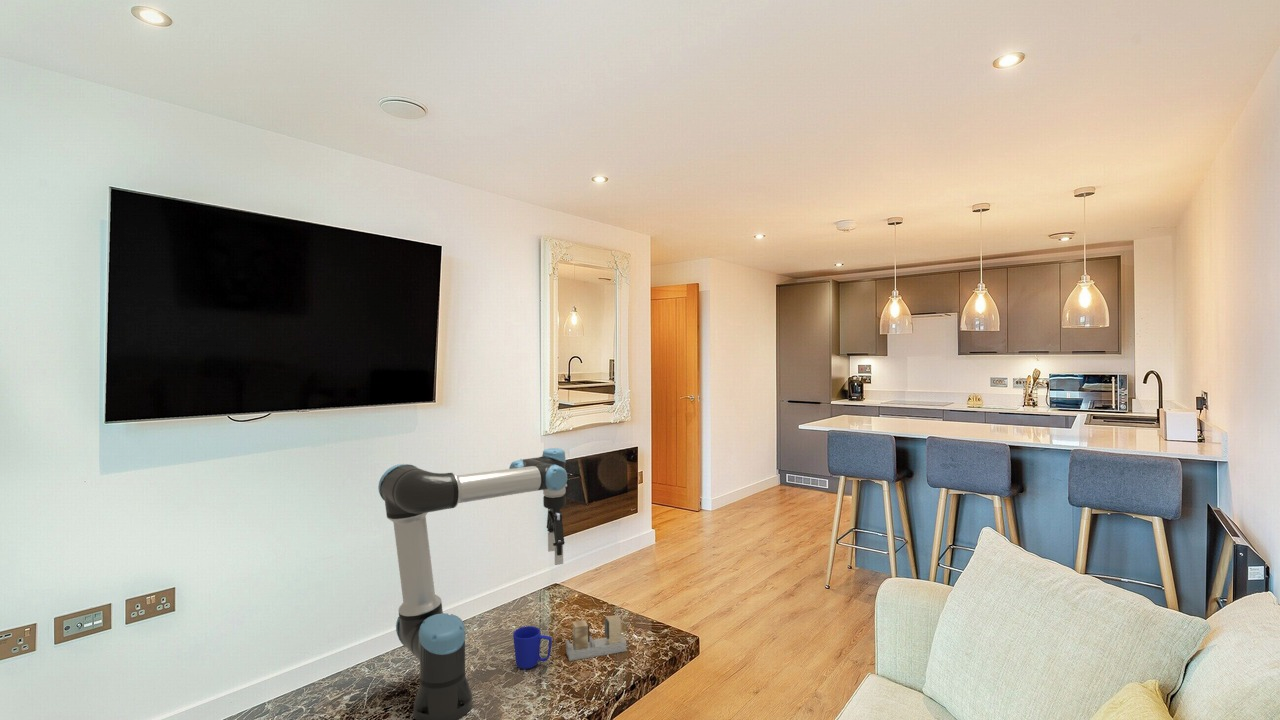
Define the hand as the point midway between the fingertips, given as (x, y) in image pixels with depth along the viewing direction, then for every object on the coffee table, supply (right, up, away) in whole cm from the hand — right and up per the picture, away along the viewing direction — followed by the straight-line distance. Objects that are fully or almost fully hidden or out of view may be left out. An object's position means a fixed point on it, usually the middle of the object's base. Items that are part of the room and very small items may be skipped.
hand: (555, 557), depth 197 cm
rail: (+15, -27, -11) cm, 32 cm away
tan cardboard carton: (+10, -24, -12) cm, 29 cm away
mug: (-4, -27, -18) cm, 33 cm away
